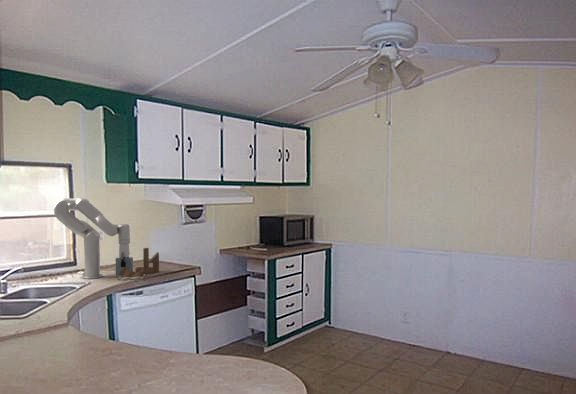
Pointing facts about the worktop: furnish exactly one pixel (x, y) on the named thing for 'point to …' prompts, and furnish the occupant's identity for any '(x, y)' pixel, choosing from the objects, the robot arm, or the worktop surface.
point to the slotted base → (131, 273)
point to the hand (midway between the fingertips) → (125, 265)
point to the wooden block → (153, 260)
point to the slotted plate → (128, 264)
